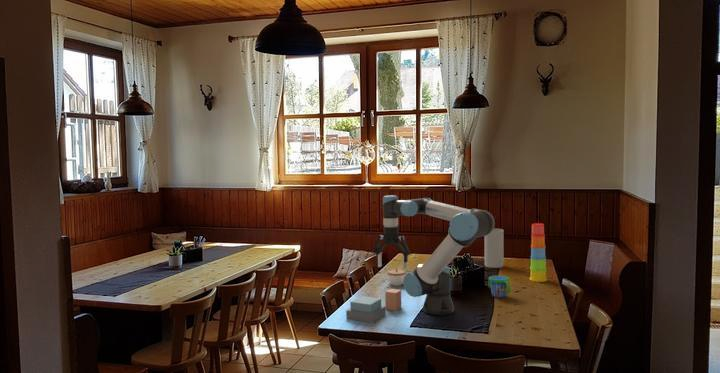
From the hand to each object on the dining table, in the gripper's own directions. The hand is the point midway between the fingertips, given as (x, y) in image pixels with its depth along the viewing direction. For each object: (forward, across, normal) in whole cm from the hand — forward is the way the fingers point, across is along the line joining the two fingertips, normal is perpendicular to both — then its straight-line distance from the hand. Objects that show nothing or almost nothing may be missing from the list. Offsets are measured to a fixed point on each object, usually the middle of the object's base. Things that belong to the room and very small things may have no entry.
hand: (392, 267), depth 269 cm
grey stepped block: (+21, +6, +17) cm, 28 cm away
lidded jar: (+21, +18, -45) cm, 53 cm away
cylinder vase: (+21, -22, -116) cm, 120 cm away
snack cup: (+21, -43, -45) cm, 66 cm away
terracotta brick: (+21, 0, 0) cm, 21 cm away
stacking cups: (+21, -56, -90) cm, 108 cm away
